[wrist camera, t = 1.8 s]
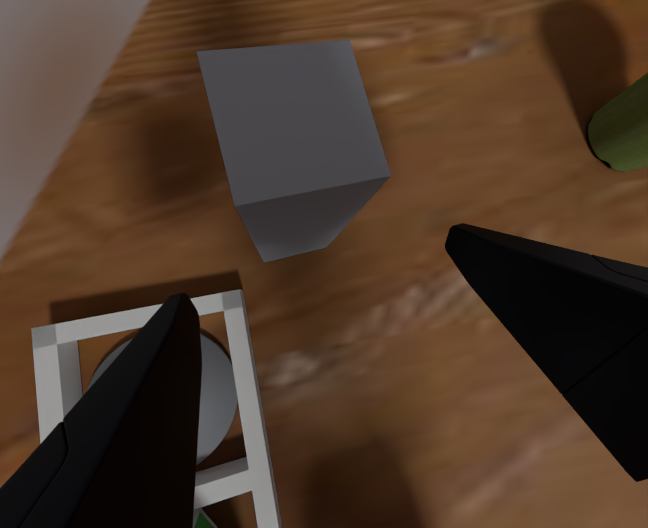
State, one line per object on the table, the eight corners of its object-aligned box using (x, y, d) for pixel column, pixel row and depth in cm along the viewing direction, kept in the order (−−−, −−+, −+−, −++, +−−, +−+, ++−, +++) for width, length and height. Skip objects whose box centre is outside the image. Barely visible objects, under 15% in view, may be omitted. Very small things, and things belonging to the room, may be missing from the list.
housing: (298, 627, 16) (300, 659, 15) (89, 721, 14) (67, 770, 13) (242, 289, 18) (239, 289, 17) (54, 325, 16) (31, 328, 15)
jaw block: (326, 247, 20) (391, 175, 8) (263, 262, 19) (234, 206, 7) (310, 188, 20) (349, 39, 9) (248, 200, 19) (196, 51, 8)
